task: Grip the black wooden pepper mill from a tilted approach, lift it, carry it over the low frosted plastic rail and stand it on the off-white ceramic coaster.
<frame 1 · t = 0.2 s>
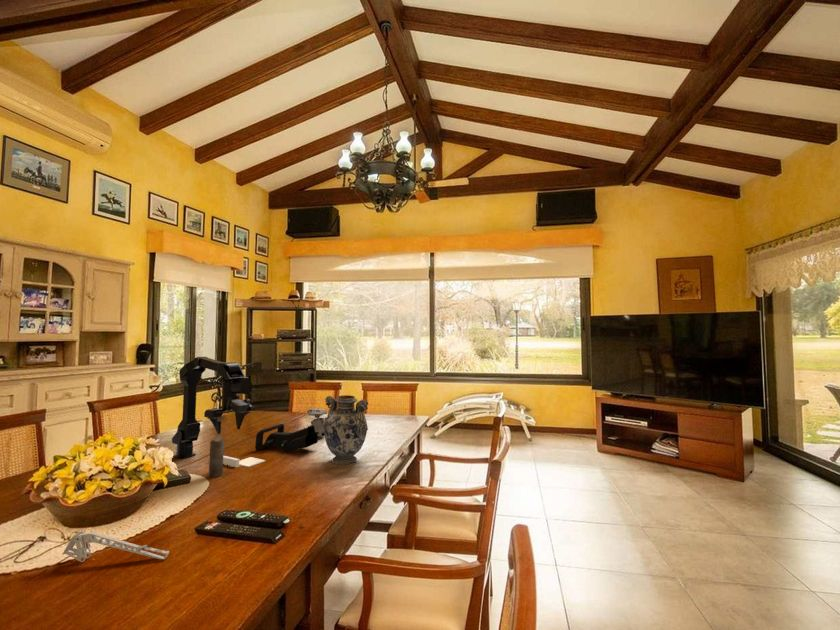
hand: (228, 431, 167), 14 cm above the table, tool pointing down, fingers open, 9 cm apart
low frosted rail: (224, 464, 170), on the table
coaster: (249, 462, 172), on the table
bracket: (117, 561, 99), on the table
handle: (288, 449, 193), on the table
decorative vase: (344, 461, 178), on the table
figurine: (315, 437, 216), on the table
pepper mill: (215, 475, 157), on the table
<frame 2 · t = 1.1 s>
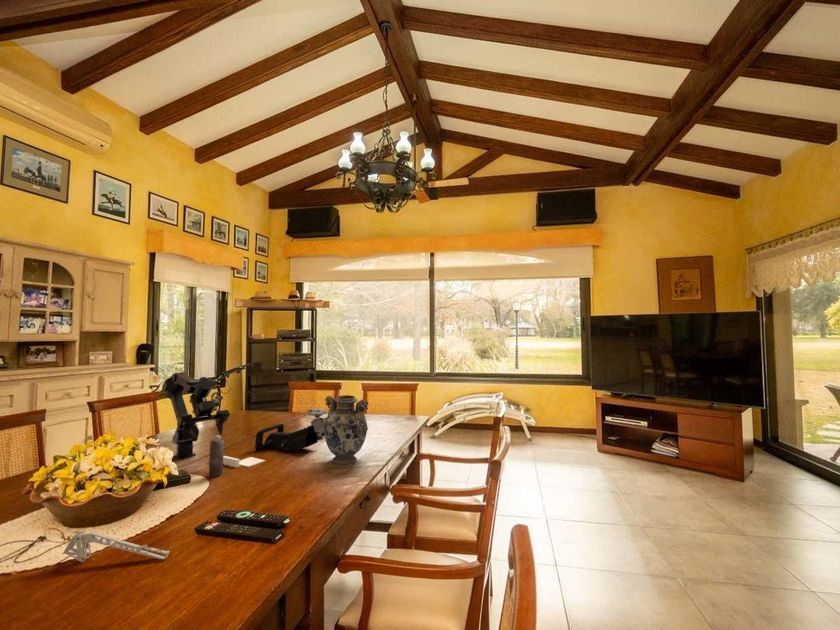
hand: (209, 436, 162), 13 cm above the table, tool tilted 45°, fingers open, 9 cm apart
nothing on the table moved.
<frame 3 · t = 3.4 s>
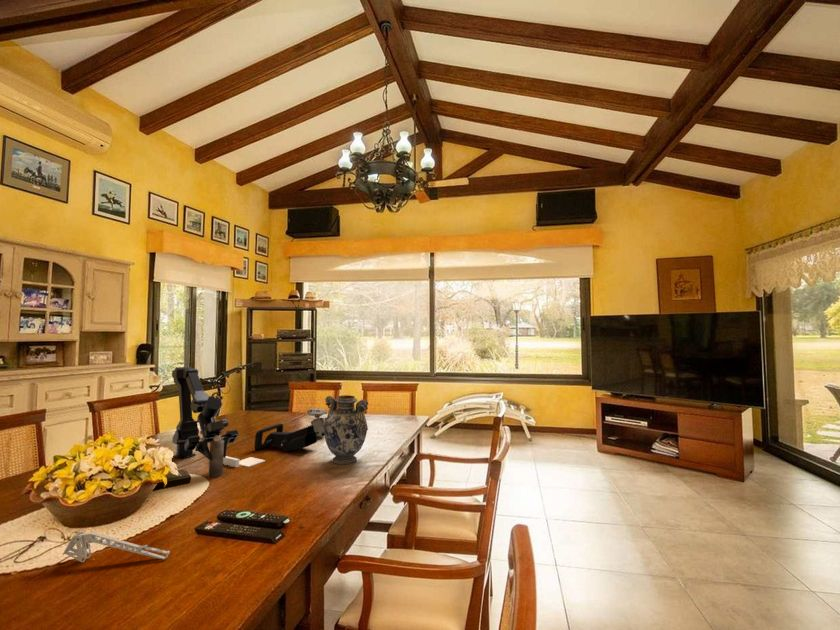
hand: (218, 458, 156), 7 cm above the table, tool tilted 45°, fingers closed on pepper mill, 5 cm apart
pepper mill: (215, 475, 157), on the table, touching gripper
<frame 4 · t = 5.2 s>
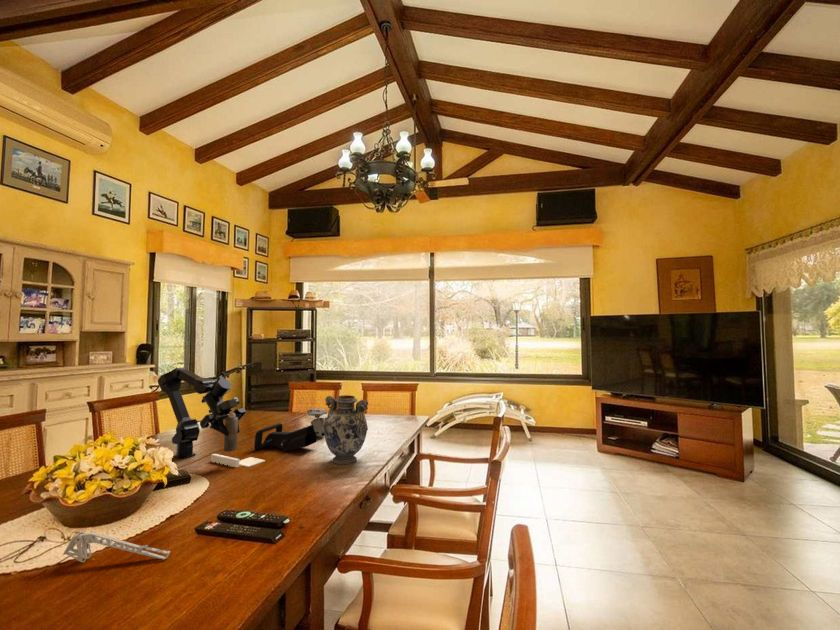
hand: (233, 434, 166), 13 cm above the table, tool tilted 45°, fingers closed on pepper mill, 5 cm apart
pepper mill: (230, 449, 167), point 7 cm above the table, touching gripper
when the fingers open (8 cm above the table, at t = 6.9 s): pepper mill drops 1 cm, resting on coaster.
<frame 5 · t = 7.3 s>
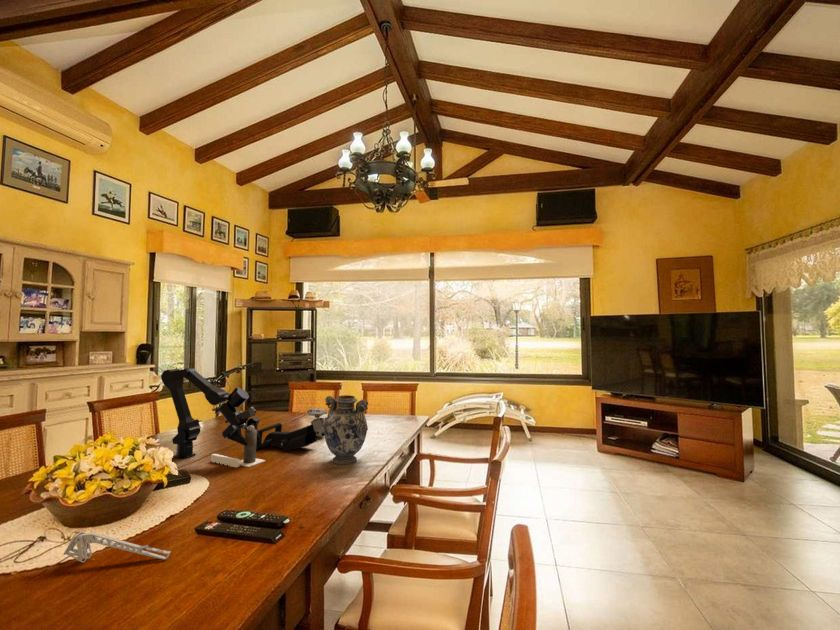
hand: (253, 442, 172), 9 cm above the table, tool tilted 45°, fingers open, 9 cm apart
pepper mill: (249, 461, 172), resting on coaster
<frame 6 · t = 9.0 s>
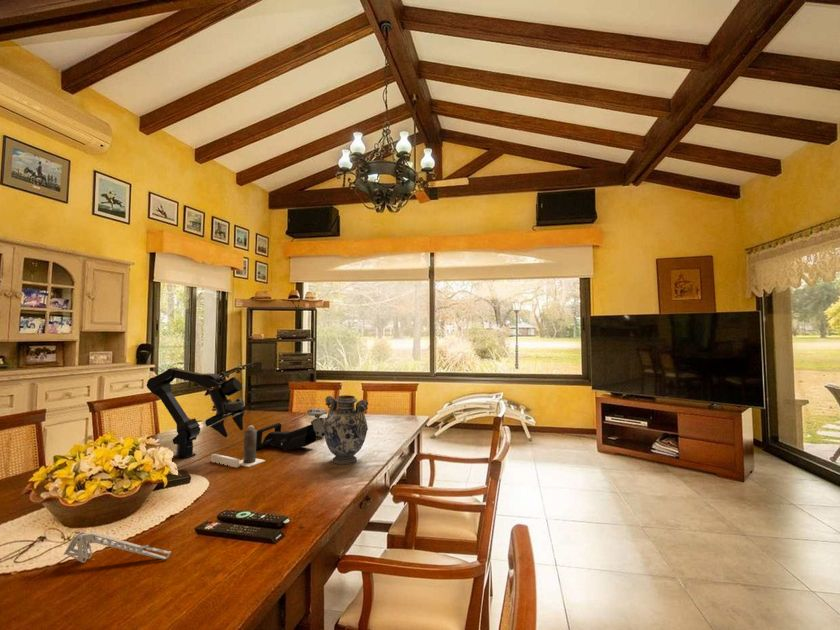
hand: (234, 433, 177), 11 cm above the table, tool tilted 25°, fingers open, 9 cm apart
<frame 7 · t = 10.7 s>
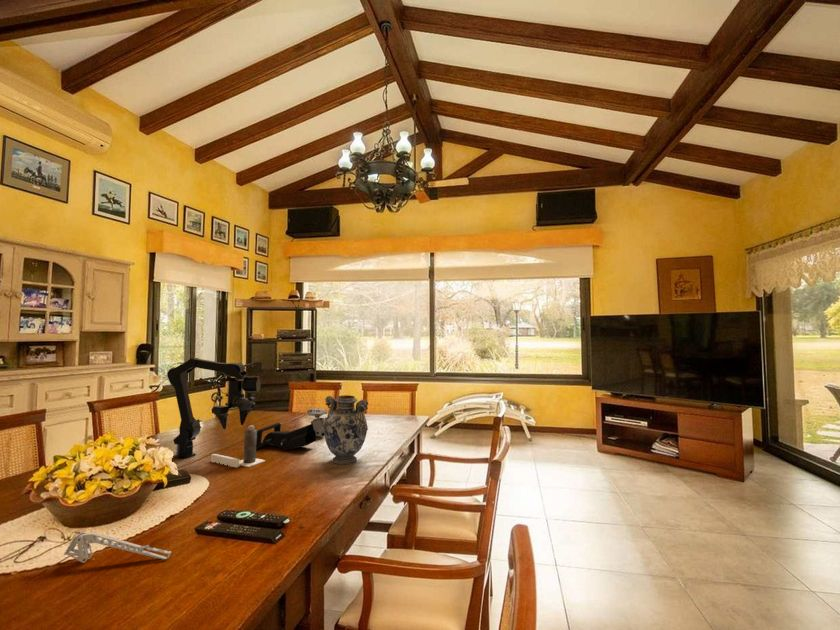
hand: (233, 426, 180), 13 cm above the table, tool pointing down, fingers open, 9 cm apart
at the end: pepper mill 0.1 cm from the coaster (horizontally); pepper mill tilted 1°; the gripper is holding nothing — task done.
